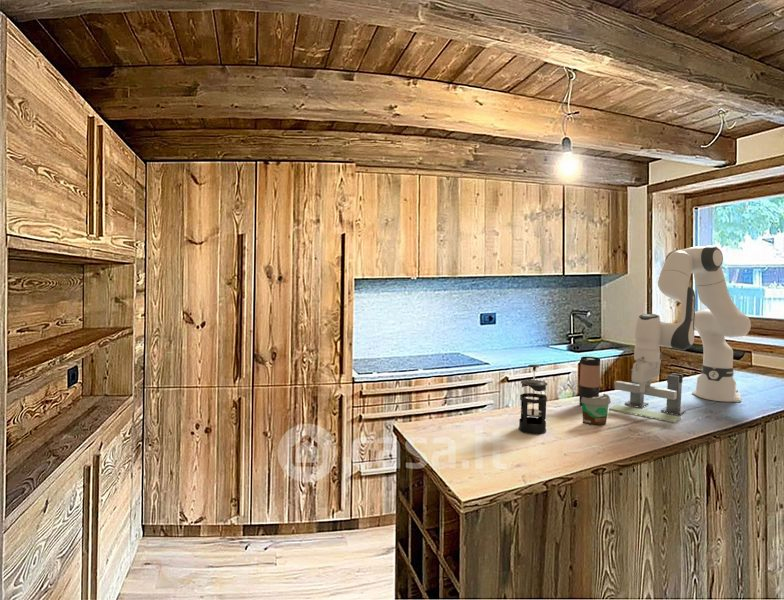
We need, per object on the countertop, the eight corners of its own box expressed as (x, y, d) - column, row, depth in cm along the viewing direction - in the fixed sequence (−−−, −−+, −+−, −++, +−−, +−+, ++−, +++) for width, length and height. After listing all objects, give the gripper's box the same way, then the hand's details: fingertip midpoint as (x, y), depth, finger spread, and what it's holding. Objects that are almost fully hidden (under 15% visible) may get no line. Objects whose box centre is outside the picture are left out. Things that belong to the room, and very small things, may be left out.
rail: (617, 388, 211) (617, 380, 211) (676, 398, 195) (677, 390, 195) (614, 389, 209) (614, 381, 208) (674, 399, 193) (674, 392, 193)
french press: (533, 436, 174) (536, 369, 172) (511, 429, 181) (513, 364, 179) (554, 430, 181) (557, 365, 179) (532, 423, 188) (534, 361, 187)
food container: (593, 428, 183) (594, 400, 183) (579, 423, 189) (580, 396, 188) (617, 424, 189) (618, 397, 188) (603, 419, 194) (604, 393, 194)
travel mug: (595, 404, 216) (597, 356, 215) (601, 409, 209) (603, 360, 207) (576, 403, 217) (578, 356, 216) (581, 408, 209) (583, 359, 208)
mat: (616, 406, 214) (617, 404, 214) (680, 418, 197) (681, 417, 197) (609, 409, 208) (609, 408, 208) (674, 423, 191) (674, 421, 191)
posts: (631, 401, 221) (632, 367, 220) (685, 412, 206) (687, 374, 205) (624, 404, 216) (626, 369, 215) (680, 415, 201) (682, 377, 200)
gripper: (645, 360, 191) (643, 397, 192) (663, 354, 206) (662, 388, 207) (628, 357, 196) (626, 393, 197) (647, 352, 210) (645, 385, 211)
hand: (644, 391), depth 202 cm, fingers closed on rail, 3 cm apart
